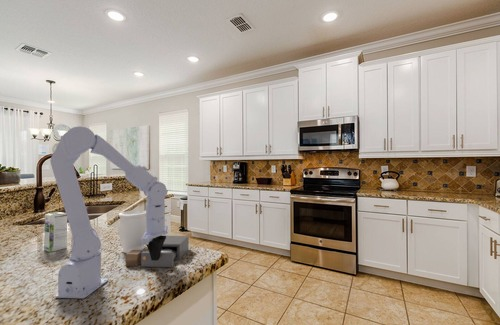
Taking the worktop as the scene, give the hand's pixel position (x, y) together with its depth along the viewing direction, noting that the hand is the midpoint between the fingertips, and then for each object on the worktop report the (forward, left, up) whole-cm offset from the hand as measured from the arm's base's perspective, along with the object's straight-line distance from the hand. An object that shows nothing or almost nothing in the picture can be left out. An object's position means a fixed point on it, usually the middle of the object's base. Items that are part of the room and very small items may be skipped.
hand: (155, 259), depth 76 cm
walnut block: (+4, +9, -3) cm, 10 cm away
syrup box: (+16, +49, -3) cm, 52 cm away
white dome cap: (+6, 0, -1) cm, 6 cm away
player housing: (+13, 0, -3) cm, 13 cm away
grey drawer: (+6, 0, -3) cm, 7 cm away
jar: (+17, +17, -3) cm, 24 cm away
